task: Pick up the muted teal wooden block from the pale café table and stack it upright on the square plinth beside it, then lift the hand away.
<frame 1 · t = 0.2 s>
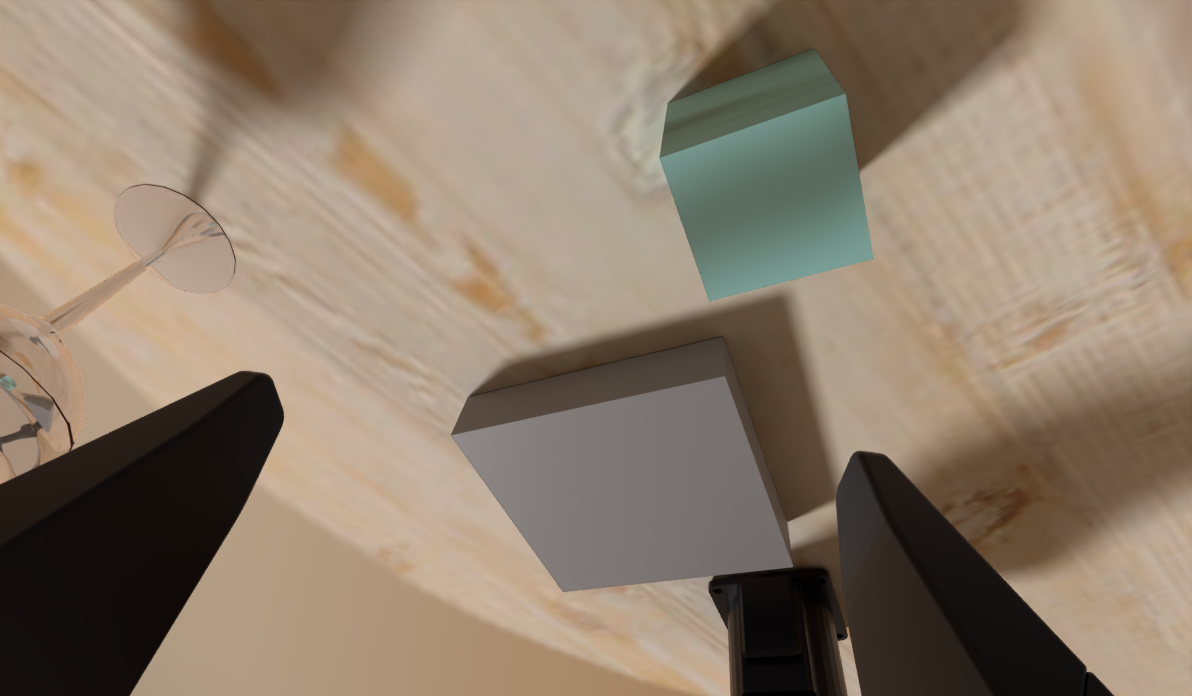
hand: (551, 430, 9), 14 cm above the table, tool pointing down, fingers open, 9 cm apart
plinth: (633, 462, 29), on the table
teal block: (755, 145, 20), on the table
wineglass: (178, 240, 25), on the table
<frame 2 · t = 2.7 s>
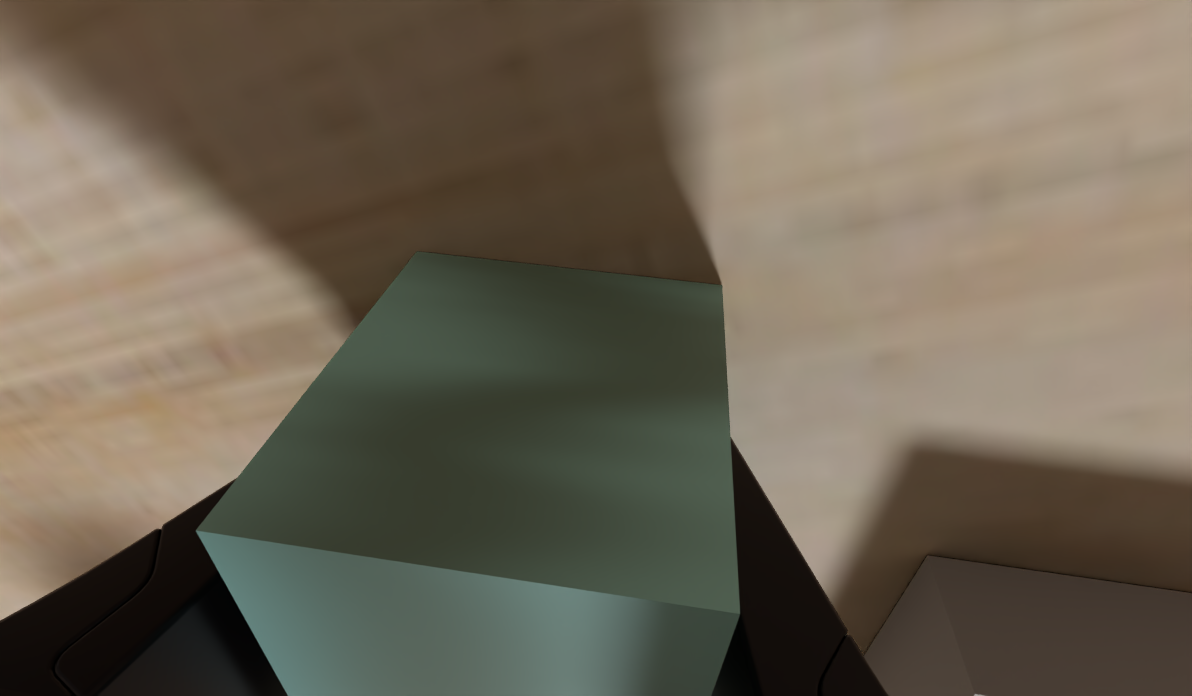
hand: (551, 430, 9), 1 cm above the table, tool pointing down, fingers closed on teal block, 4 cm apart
teal block: (563, 385, 10), on the table, touching gripper
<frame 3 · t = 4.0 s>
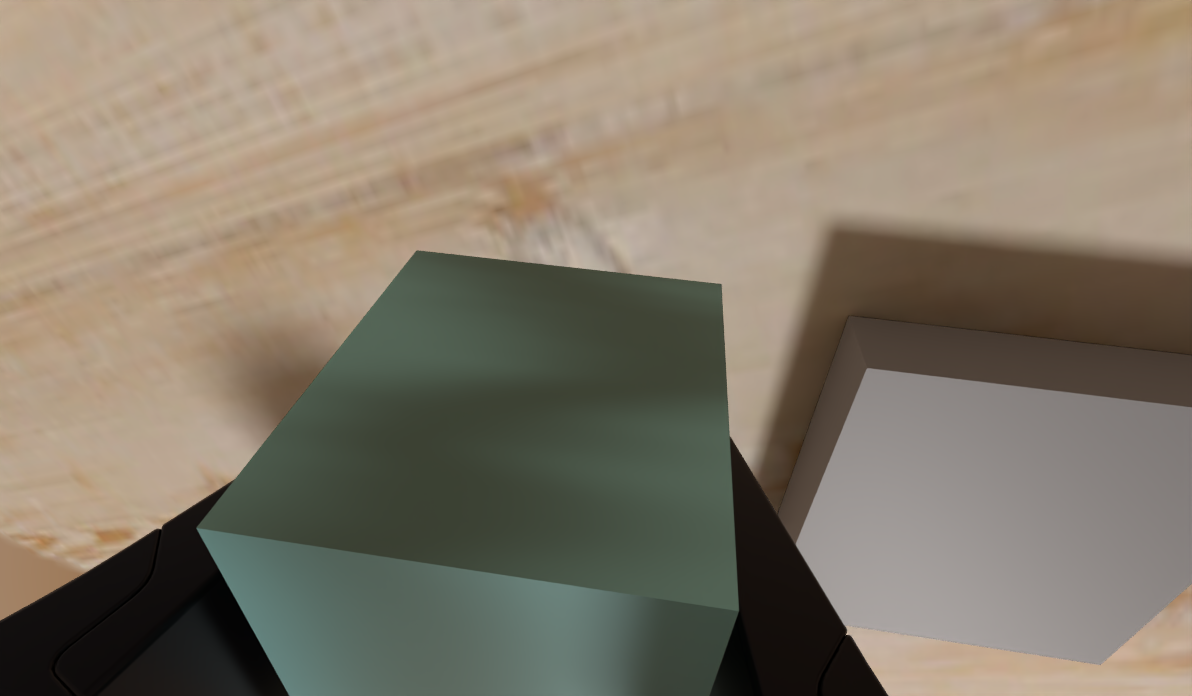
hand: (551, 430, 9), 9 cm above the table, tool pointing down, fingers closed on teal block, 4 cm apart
plinth: (974, 479, 21), on the table
teal block: (563, 384, 10), point 8 cm above the table, touching gripper
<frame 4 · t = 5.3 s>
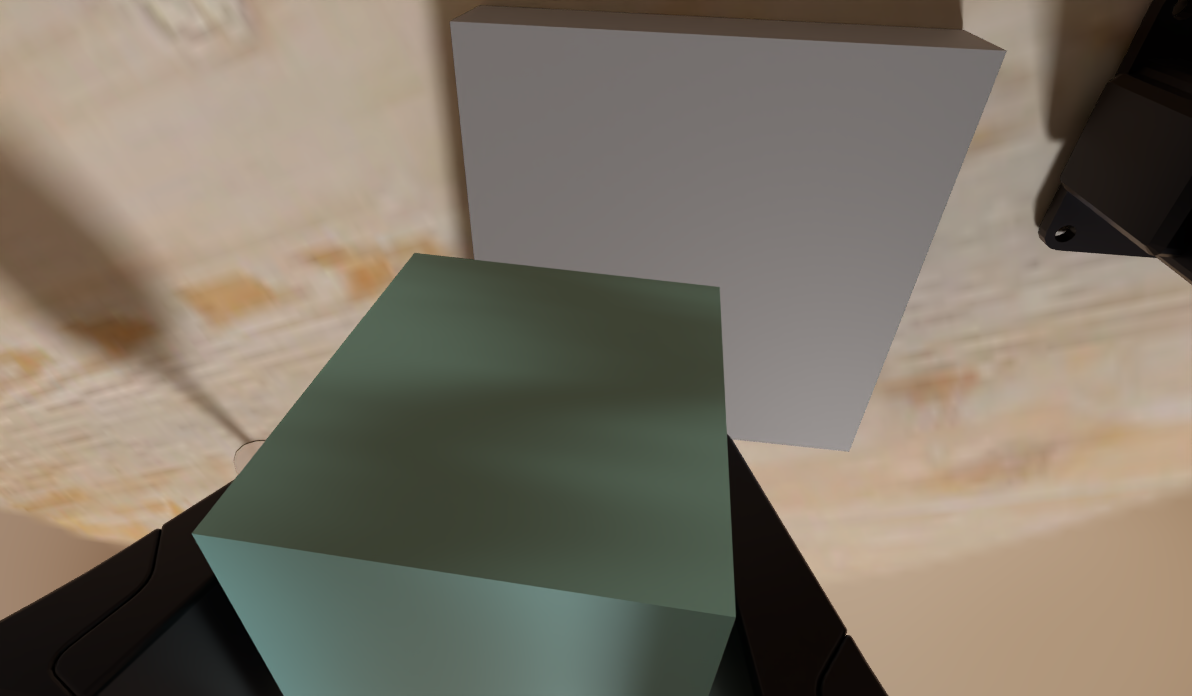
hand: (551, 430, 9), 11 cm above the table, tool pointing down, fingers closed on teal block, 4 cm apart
plinth: (686, 235, 19), on the table
teal block: (561, 387, 10), point 10 cm above the table, touching gripper
wineglass: (289, 475, 29), on the table
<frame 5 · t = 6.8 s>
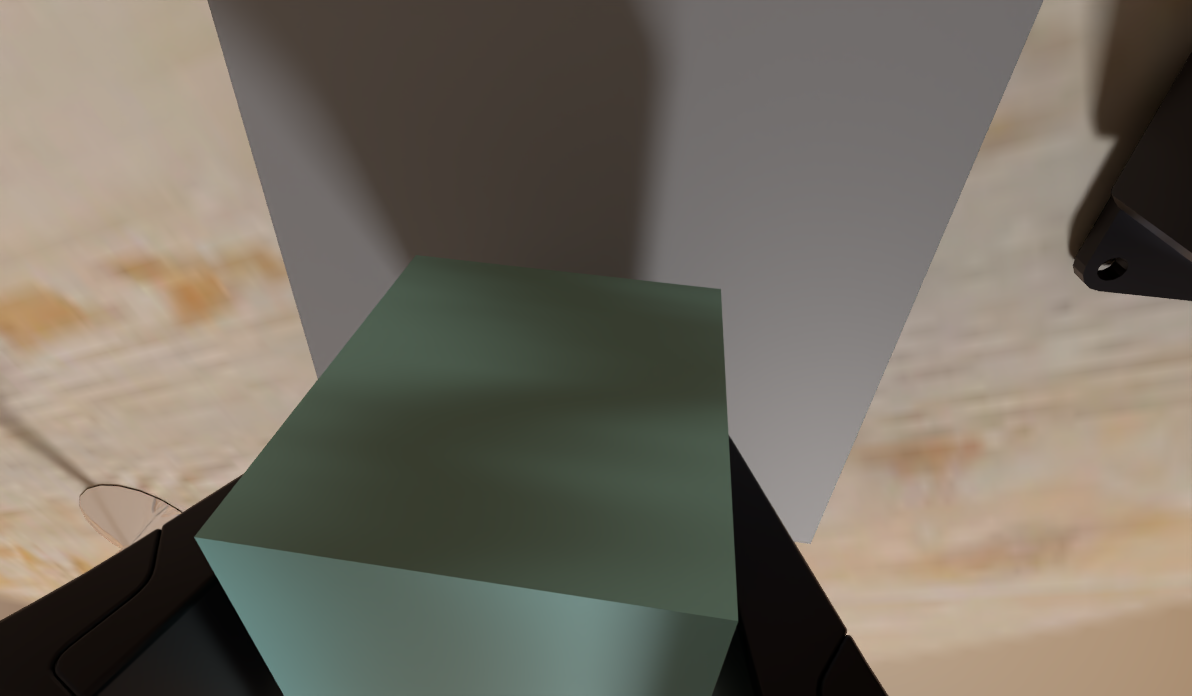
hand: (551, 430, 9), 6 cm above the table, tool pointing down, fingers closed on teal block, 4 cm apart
plinth: (596, 255, 14), on the table
teal block: (562, 388, 10), point 5 cm above the table, touching gripper
wineglass: (148, 524, 24), on the table
when the fingers open (4 cm above the table, at t = 8.2 s): teal block stays where it is, resting on plinth.
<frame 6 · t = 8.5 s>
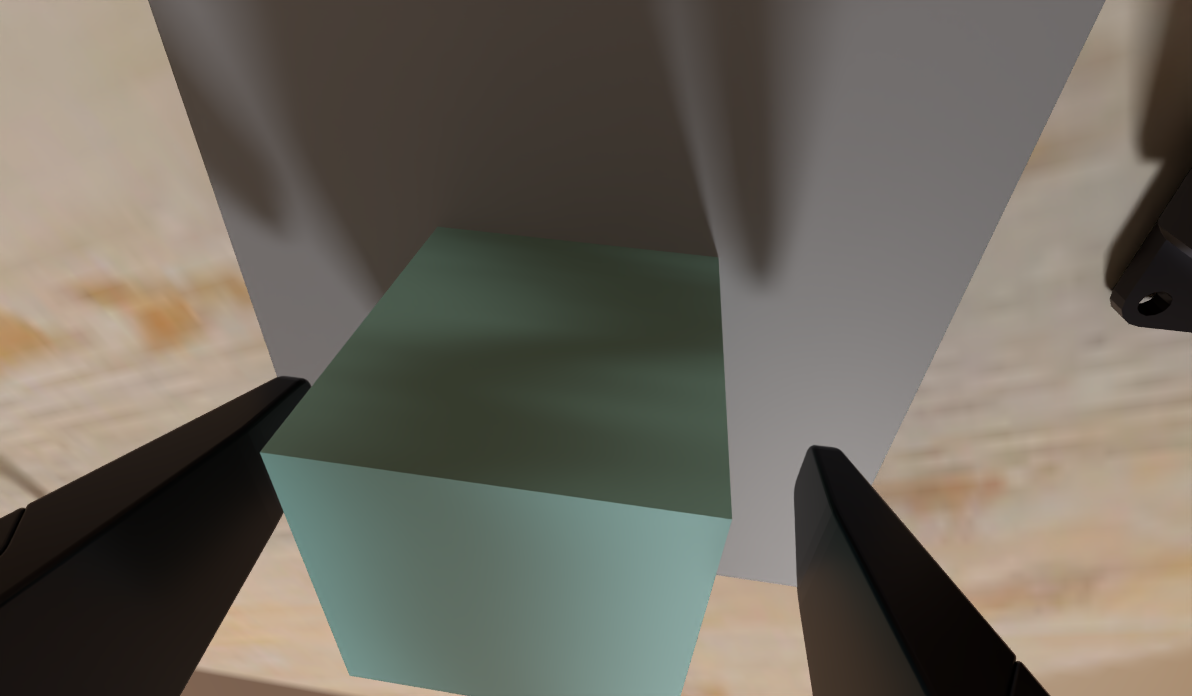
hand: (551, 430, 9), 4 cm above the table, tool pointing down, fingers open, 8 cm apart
plinth: (590, 283, 13), on the table
teal block: (571, 354, 11), point 2 cm above the table, touching plinth
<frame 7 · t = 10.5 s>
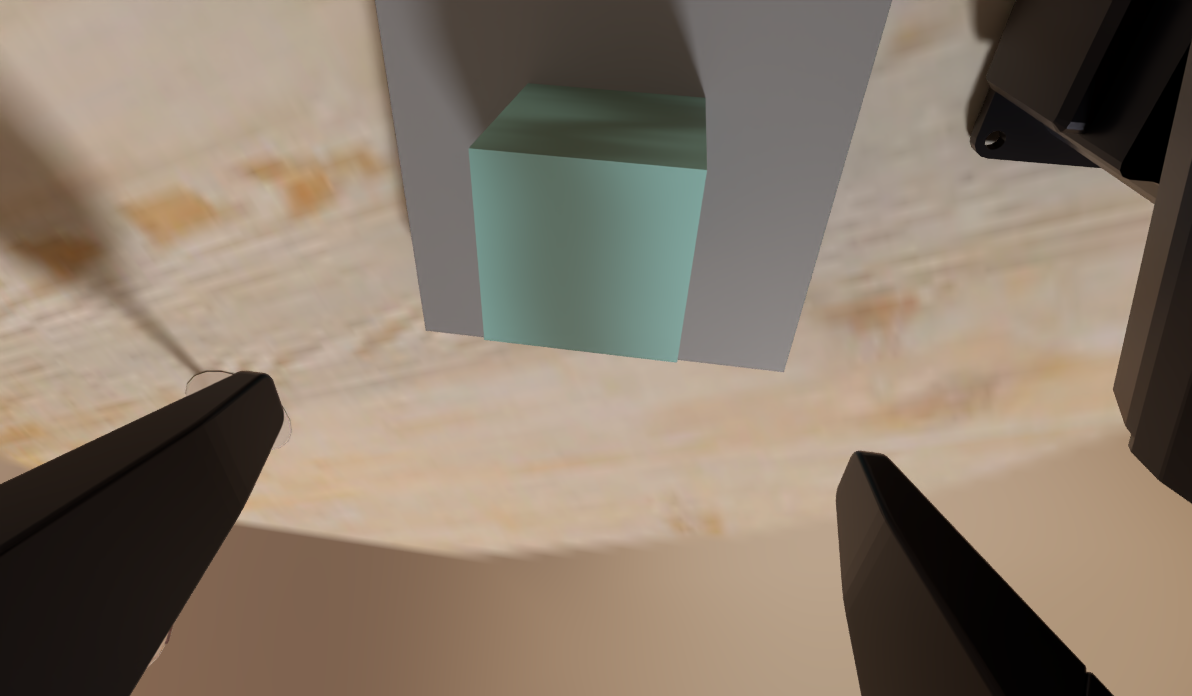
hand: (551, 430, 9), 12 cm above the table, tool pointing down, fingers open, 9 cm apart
plinth: (619, 146, 19), on the table
teal block: (610, 176, 17), point 2 cm above the table, touching plinth
wineglass: (241, 410, 29), on the table
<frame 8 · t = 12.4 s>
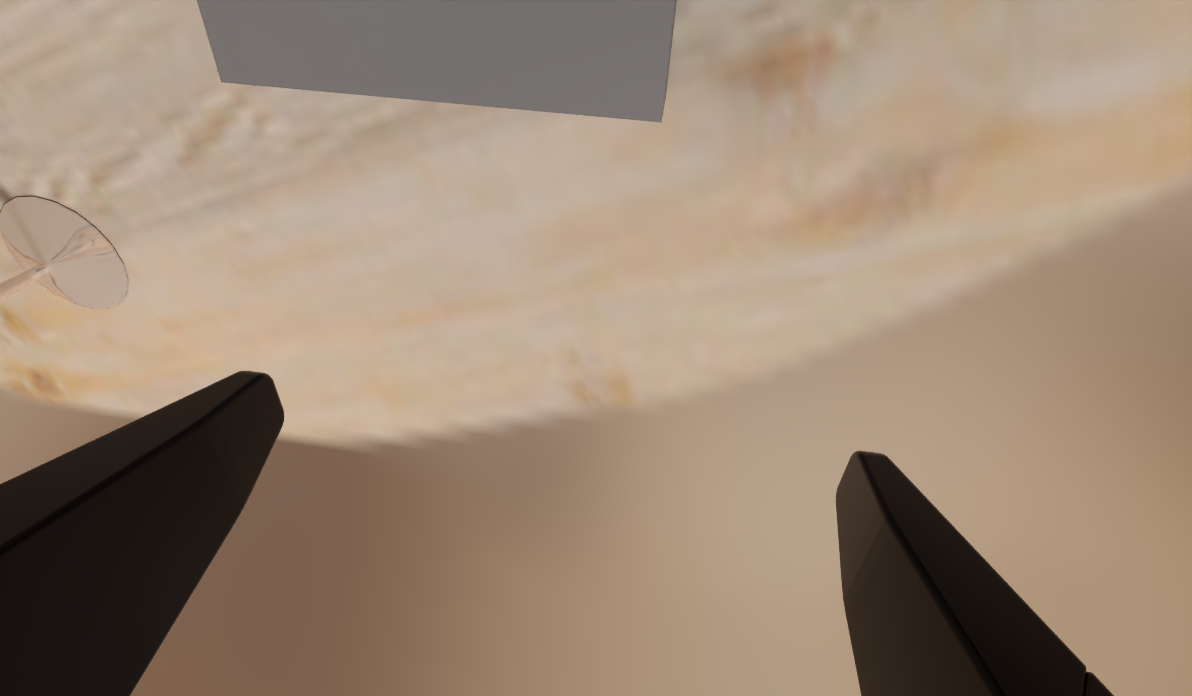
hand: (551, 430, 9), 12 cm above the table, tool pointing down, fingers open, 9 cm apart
wineglass: (68, 253, 24), on the table
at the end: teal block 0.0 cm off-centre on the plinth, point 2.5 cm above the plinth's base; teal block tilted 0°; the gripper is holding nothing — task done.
